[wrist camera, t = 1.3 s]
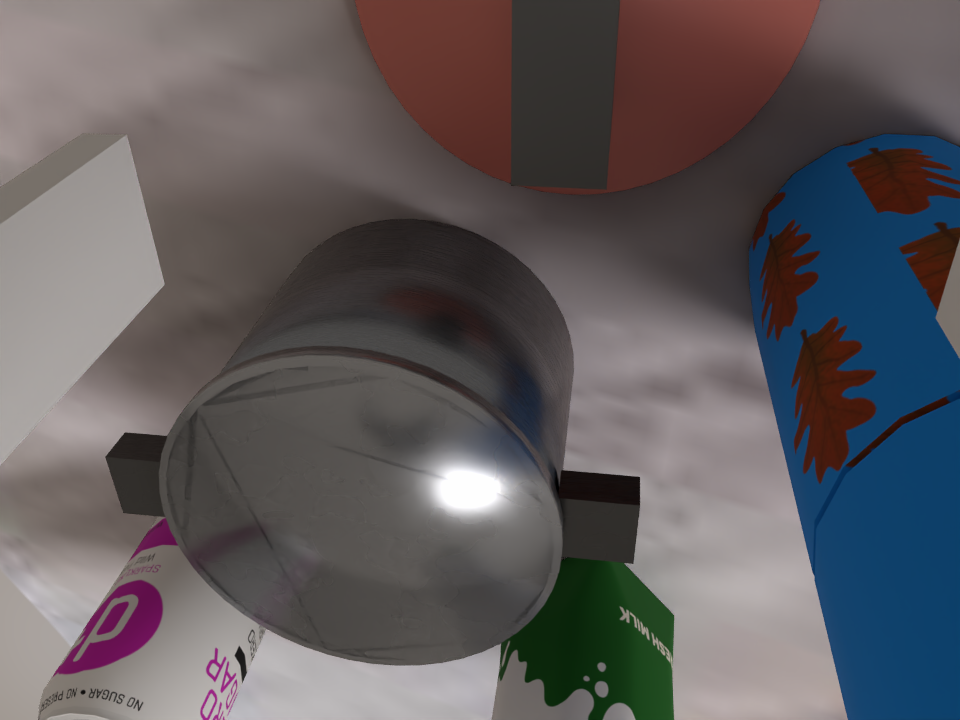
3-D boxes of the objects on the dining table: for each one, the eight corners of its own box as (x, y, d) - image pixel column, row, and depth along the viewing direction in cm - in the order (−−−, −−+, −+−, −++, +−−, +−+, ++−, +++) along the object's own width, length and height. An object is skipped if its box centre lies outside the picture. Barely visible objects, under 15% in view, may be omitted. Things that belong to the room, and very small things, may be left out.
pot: (651, 224, 37) (657, 382, 27) (624, 497, 46) (620, 693, 36) (189, 202, 40) (42, 338, 30) (244, 463, 49) (144, 636, 39)
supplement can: (142, 494, 51) (-17, 719, 39) (254, 461, 48) (122, 692, 36) (218, 587, 55) (95, 820, 42) (327, 561, 52) (230, 803, 40)
